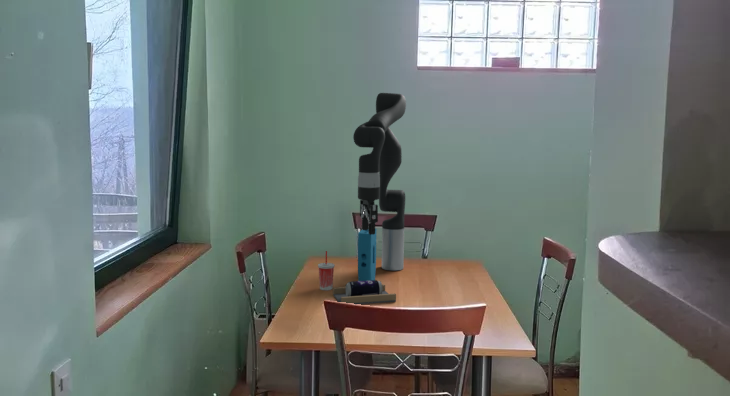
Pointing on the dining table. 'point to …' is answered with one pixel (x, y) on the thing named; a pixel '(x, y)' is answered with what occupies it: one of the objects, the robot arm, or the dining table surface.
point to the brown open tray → (363, 297)
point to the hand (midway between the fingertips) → (368, 232)
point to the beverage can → (363, 288)
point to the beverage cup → (326, 275)
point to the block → (366, 256)
